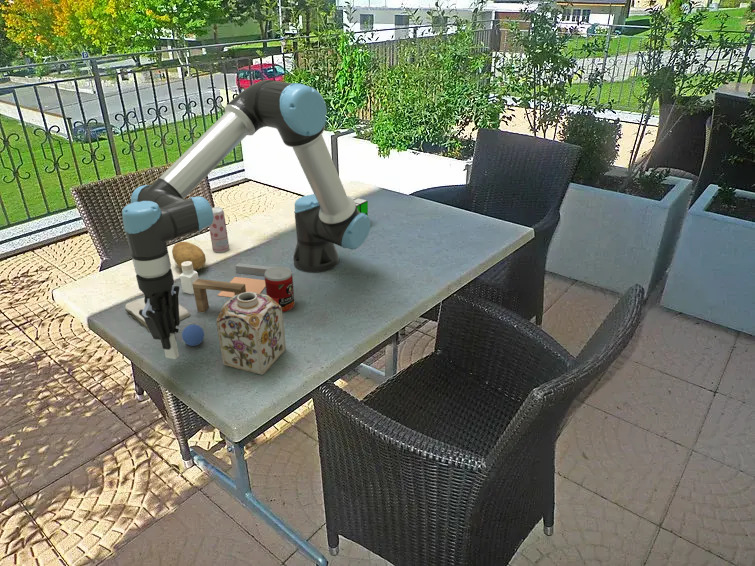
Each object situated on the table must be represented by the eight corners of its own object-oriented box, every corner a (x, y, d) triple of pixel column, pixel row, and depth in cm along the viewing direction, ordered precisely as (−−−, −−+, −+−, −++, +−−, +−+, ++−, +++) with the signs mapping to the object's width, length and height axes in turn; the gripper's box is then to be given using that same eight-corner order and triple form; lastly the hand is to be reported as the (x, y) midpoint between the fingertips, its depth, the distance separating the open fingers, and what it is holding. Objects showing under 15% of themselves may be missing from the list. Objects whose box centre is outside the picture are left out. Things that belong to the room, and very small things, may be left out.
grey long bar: (279, 274, 175) (278, 267, 174) (276, 277, 173) (275, 270, 172) (239, 269, 178) (238, 263, 176) (236, 272, 176) (235, 265, 175)
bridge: (202, 306, 158) (197, 278, 153) (248, 312, 155) (245, 284, 150) (197, 311, 155) (192, 283, 151) (244, 317, 152) (240, 289, 148)
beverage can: (217, 254, 188) (211, 214, 180) (210, 249, 191) (203, 209, 184) (232, 249, 191) (226, 210, 184) (224, 244, 195) (218, 205, 187)
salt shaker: (193, 295, 163) (187, 267, 159) (182, 293, 164) (176, 265, 160) (201, 289, 167) (196, 261, 162) (190, 286, 168) (185, 259, 163)
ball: (209, 339, 143) (206, 321, 140) (199, 351, 138) (195, 333, 136) (190, 336, 144) (187, 319, 141) (179, 348, 139) (175, 330, 137)
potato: (187, 280, 172) (183, 257, 168) (168, 265, 180) (163, 243, 177) (215, 270, 177) (212, 248, 174) (195, 256, 186) (191, 235, 182)
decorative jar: (222, 365, 133) (211, 303, 124) (248, 340, 143) (239, 280, 134) (264, 376, 130) (255, 313, 121) (288, 349, 139) (282, 289, 130)
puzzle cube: (348, 219, 216) (347, 195, 211) (368, 224, 211) (368, 200, 206) (332, 227, 209) (331, 202, 204) (352, 233, 204) (352, 208, 199)
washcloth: (160, 296, 164) (158, 287, 162) (192, 317, 153) (190, 308, 152) (122, 311, 156) (120, 302, 155) (153, 335, 146) (151, 325, 144)
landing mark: (270, 281, 171) (270, 280, 171) (254, 300, 161) (254, 299, 160) (235, 277, 173) (234, 276, 173) (217, 295, 163) (217, 295, 163)
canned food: (283, 315, 153) (279, 281, 148) (262, 307, 157) (258, 274, 152) (300, 303, 159) (297, 270, 154) (279, 296, 163) (276, 263, 157)
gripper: (155, 256, 127) (173, 339, 138) (120, 282, 115) (142, 370, 127) (184, 260, 125) (199, 343, 137) (151, 286, 114) (171, 375, 125)
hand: (172, 356), depth 132 cm, fingers closed
